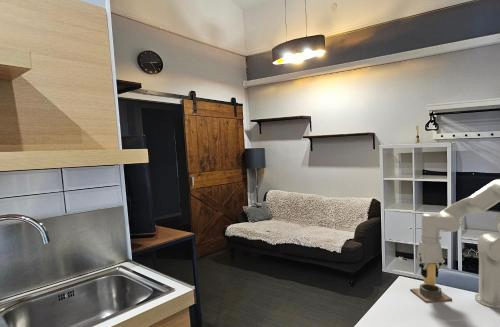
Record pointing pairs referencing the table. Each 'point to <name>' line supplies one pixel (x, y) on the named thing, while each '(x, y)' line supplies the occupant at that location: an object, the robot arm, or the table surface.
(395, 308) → the table surface
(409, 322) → the table surface
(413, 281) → the table surface
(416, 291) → the mount plate
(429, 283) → the pale yellow cylinder
